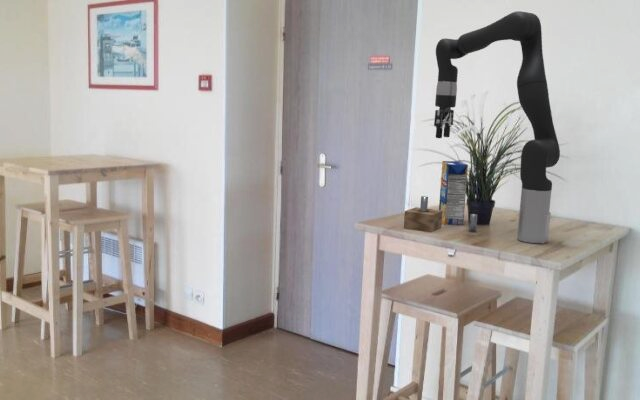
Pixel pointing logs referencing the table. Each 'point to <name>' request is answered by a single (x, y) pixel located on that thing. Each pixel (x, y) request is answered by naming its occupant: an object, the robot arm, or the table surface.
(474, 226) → the short pin
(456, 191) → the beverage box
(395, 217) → the table surface
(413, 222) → the hole block
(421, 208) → the long pin
